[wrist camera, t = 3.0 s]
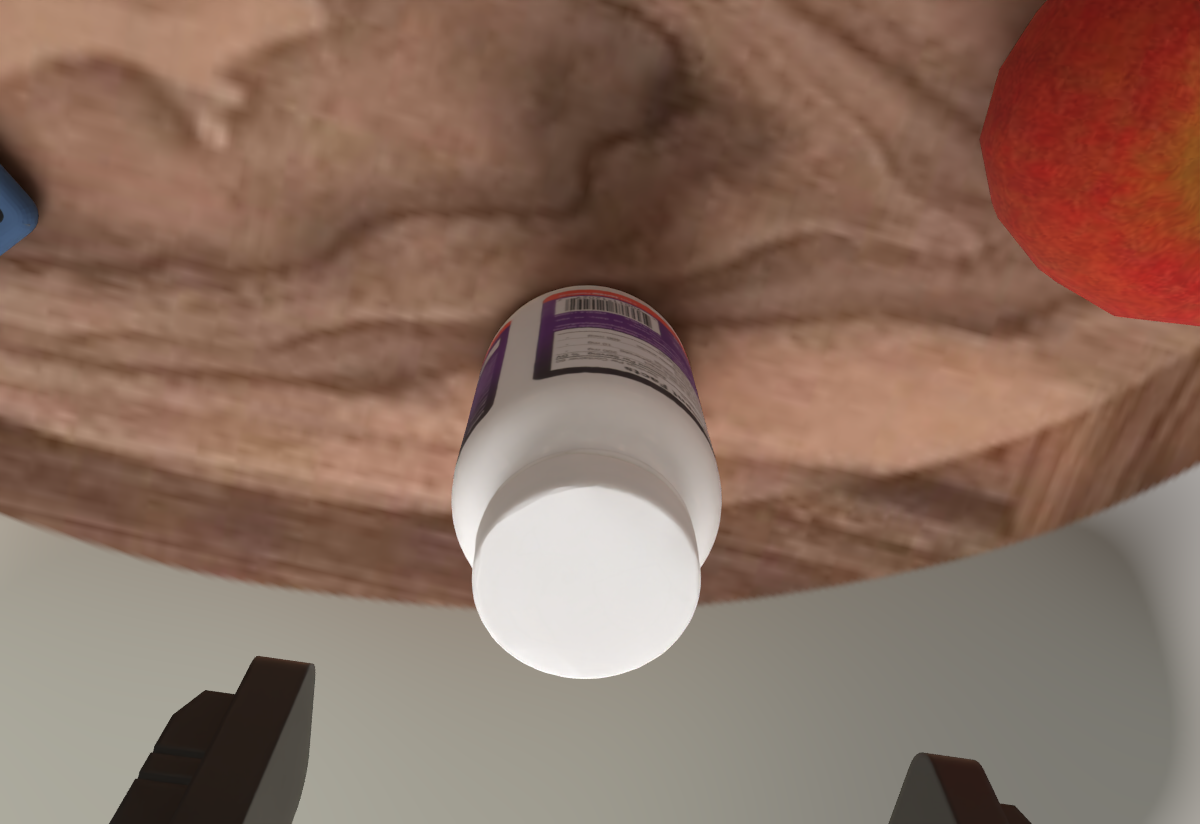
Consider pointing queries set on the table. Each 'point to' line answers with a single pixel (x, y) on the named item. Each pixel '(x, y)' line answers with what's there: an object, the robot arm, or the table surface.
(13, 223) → the smartphone
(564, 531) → the pill bottle
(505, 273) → the table surface
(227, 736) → the robot arm
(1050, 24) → the apple
